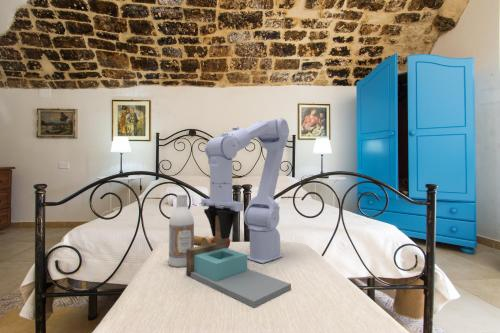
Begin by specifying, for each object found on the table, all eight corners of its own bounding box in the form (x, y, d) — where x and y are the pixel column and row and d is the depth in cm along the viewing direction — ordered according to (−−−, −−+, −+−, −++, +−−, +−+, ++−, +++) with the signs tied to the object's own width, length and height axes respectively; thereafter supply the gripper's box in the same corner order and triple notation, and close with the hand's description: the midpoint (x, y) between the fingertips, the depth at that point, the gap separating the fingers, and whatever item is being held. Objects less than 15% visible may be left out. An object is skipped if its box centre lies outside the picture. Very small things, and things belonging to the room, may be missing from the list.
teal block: (224, 262, 77) (224, 247, 77) (247, 270, 71) (247, 254, 71) (194, 271, 70) (194, 255, 70) (216, 281, 63) (216, 263, 64)
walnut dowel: (222, 241, 72) (222, 214, 73) (229, 243, 70) (229, 215, 70) (212, 243, 71) (213, 215, 71) (219, 245, 68) (219, 217, 68)
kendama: (184, 249, 99) (217, 252, 87) (185, 231, 100) (218, 231, 89) (201, 249, 104) (235, 251, 93) (202, 232, 106) (235, 232, 94)
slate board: (222, 264, 79) (222, 260, 79) (291, 289, 62) (290, 284, 62) (186, 275, 70) (186, 270, 71) (253, 307, 54) (253, 301, 54)
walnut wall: (222, 264, 79) (222, 241, 79) (227, 265, 78) (227, 242, 78) (186, 275, 70) (186, 249, 71) (190, 277, 69) (190, 250, 69)
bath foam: (172, 269, 75) (172, 195, 75) (166, 262, 81) (167, 193, 81) (196, 265, 78) (197, 194, 79) (189, 258, 84) (190, 192, 85)
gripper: (191, 183, 73) (191, 234, 73) (227, 184, 63) (227, 245, 62) (213, 182, 78) (213, 230, 78) (249, 184, 68) (249, 239, 67)
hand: (220, 237), depth 70 cm, fingers closed on walnut dowel, 3 cm apart
